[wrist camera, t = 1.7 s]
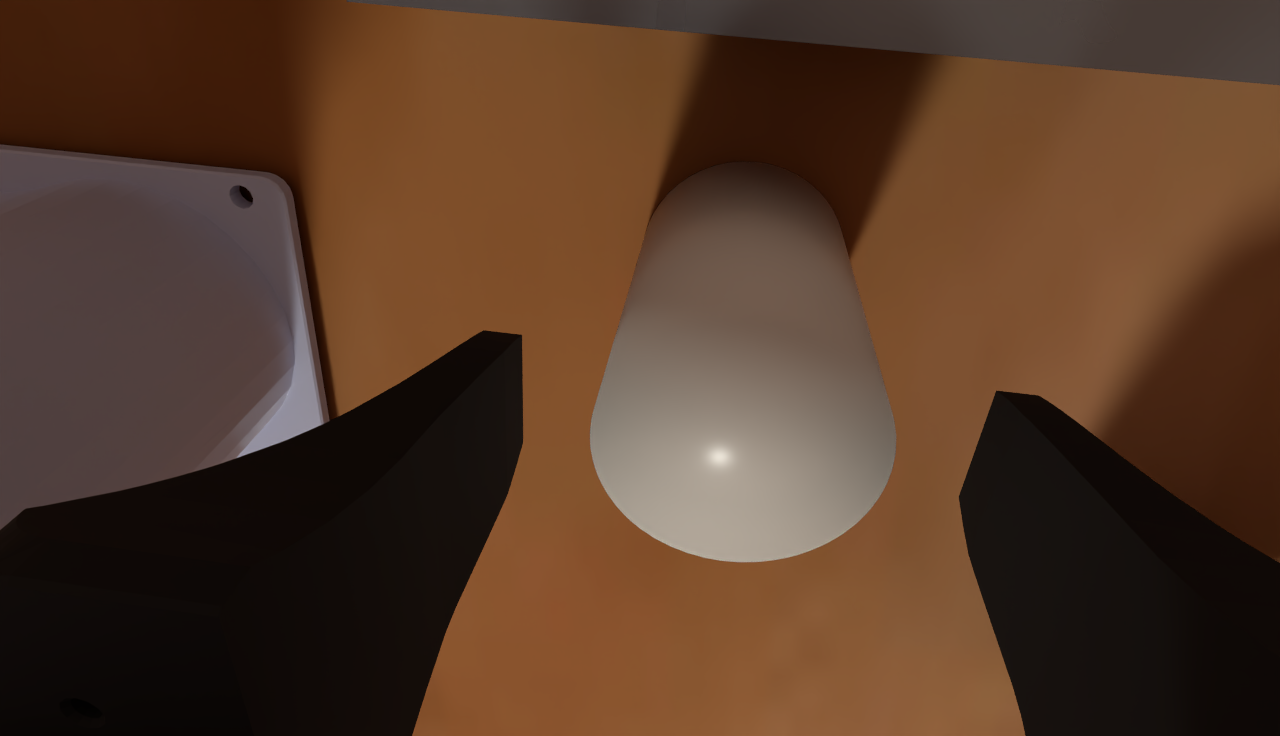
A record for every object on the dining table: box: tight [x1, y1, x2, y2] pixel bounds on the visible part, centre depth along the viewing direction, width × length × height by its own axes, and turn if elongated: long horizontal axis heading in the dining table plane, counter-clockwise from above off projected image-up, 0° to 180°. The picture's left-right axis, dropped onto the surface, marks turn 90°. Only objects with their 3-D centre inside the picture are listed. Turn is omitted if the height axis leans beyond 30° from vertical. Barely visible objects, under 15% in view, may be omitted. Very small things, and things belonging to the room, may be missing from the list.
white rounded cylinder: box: [590, 161, 896, 562], centre depth 15 cm, size 4×4×7 cm
